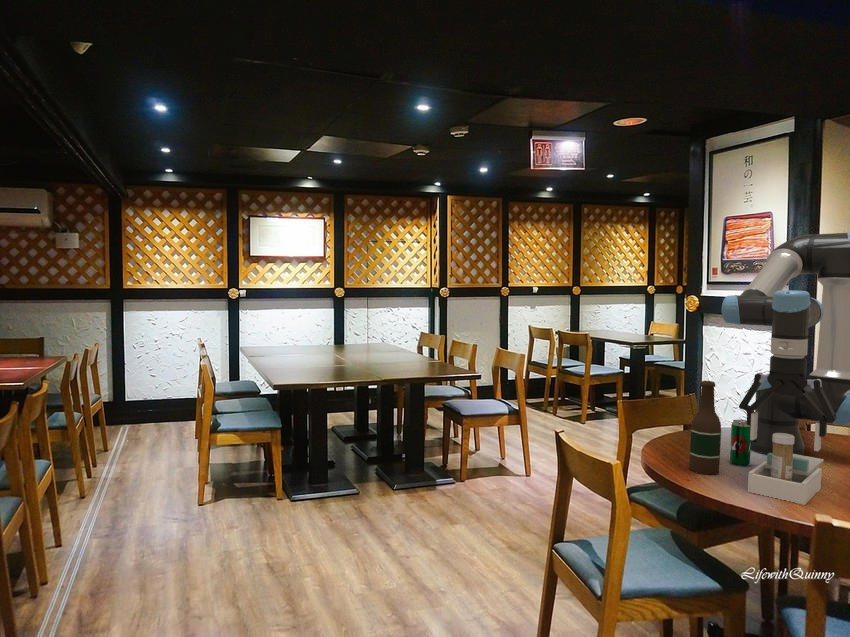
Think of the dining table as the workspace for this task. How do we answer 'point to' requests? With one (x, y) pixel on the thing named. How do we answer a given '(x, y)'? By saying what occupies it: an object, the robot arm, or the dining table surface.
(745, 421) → the soda can
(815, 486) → the mailer box
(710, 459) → the beer bottle
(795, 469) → the lid
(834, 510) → the dining table surface
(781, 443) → the sprinkles bottle
